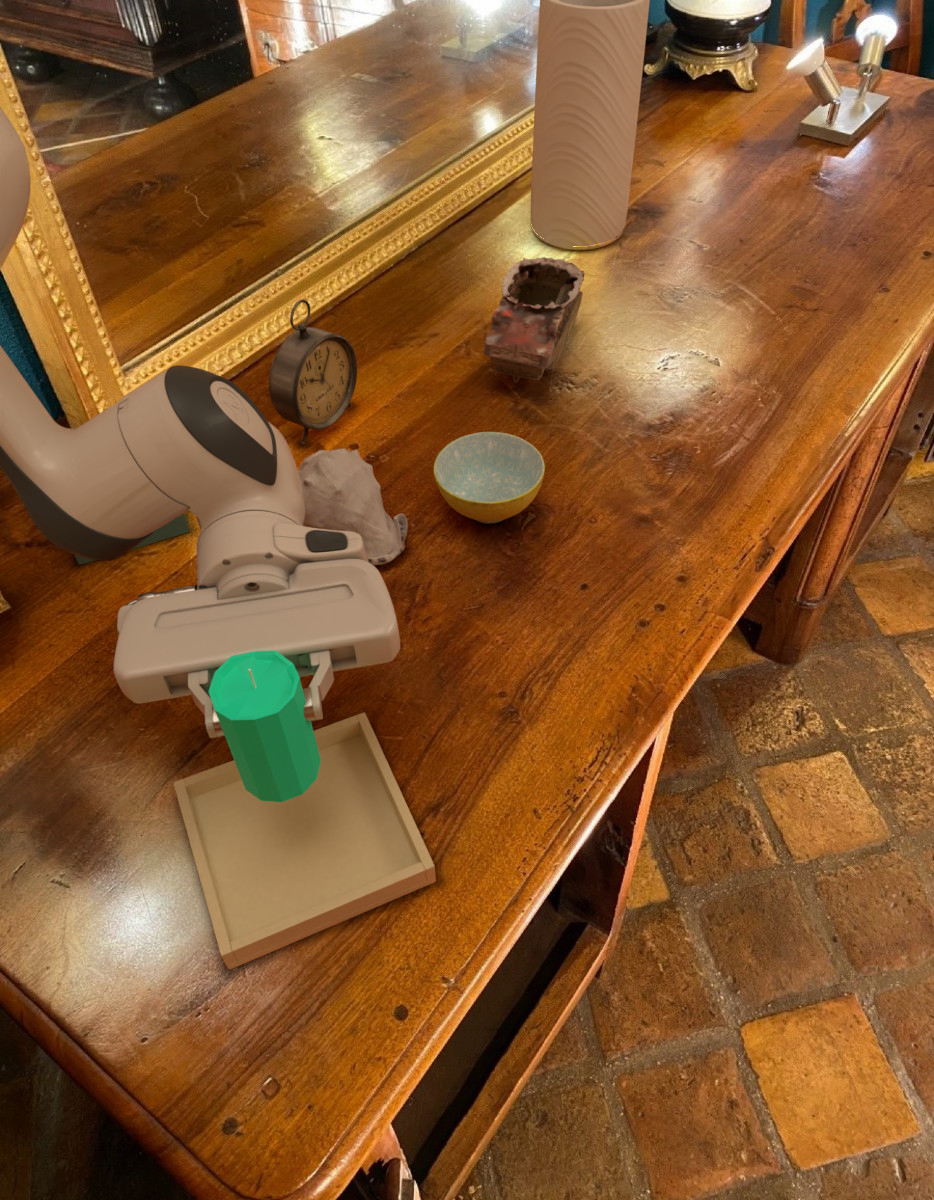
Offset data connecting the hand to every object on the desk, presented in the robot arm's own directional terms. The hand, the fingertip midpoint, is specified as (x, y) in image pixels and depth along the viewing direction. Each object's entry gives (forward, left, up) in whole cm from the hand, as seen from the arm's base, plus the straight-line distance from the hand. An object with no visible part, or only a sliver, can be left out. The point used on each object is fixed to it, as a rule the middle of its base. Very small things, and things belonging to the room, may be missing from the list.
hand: (265, 724), depth 64 cm
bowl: (+30, +29, -16) cm, 45 cm away
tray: (0, 0, -16) cm, 16 cm away
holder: (-6, +45, -16) cm, 48 cm away
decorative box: (+48, +51, -16) cm, 72 cm away
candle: (0, +1, -7) cm, 7 cm away
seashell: (+16, +33, -16) cm, 40 cm away
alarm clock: (+18, +51, -16) cm, 56 cm away
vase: (+68, +79, -16) cm, 105 cm away
